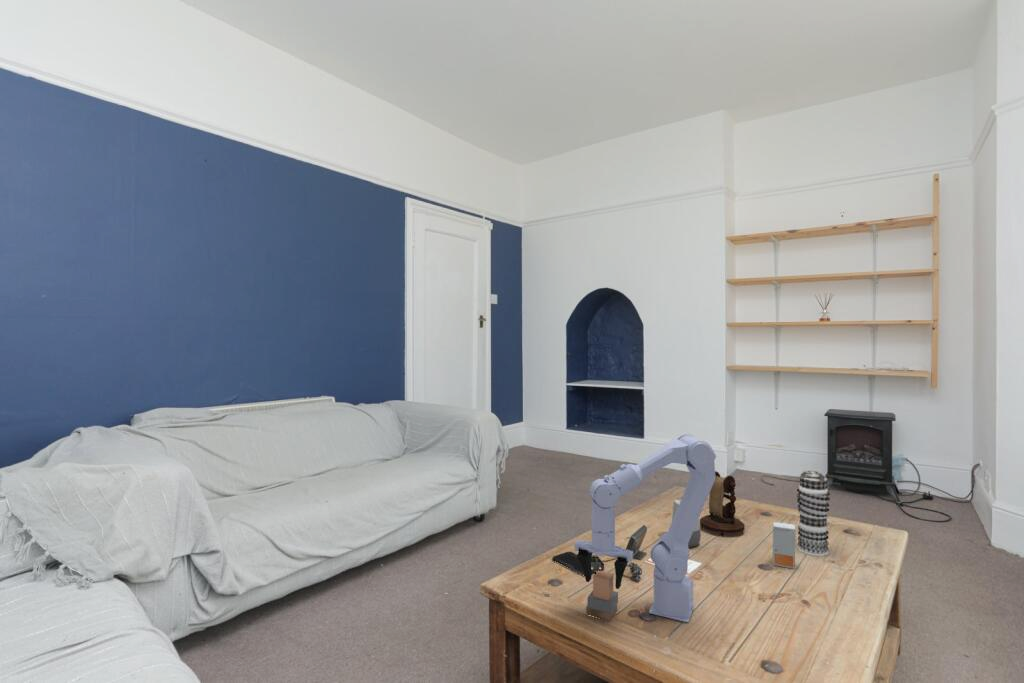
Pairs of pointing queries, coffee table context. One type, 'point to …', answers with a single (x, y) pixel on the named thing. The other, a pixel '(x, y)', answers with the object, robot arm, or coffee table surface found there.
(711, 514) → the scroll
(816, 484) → the decorative candle
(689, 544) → the smart speaker
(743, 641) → the coffee table surface
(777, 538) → the skincare box
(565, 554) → the phone
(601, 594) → the terracotta block
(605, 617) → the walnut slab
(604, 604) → the charcoal slab
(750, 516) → the coffee table surface
